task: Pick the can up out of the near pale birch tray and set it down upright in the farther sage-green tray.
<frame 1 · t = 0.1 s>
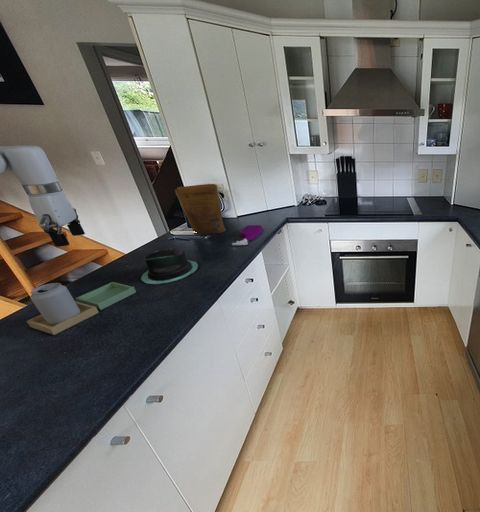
hand: (71, 240, 91), 22 cm above the worktop, tool pointing down, fingers open, 9 cm apart
far tray: (108, 297, 100), on the worktop
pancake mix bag: (210, 233, 157), on the worktop
near tray: (66, 319, 89), on the worktop
can: (65, 319, 88), resting on near tray
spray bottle: (248, 237, 153), on the worktop
black and teal hat: (171, 272, 117), on the worktop
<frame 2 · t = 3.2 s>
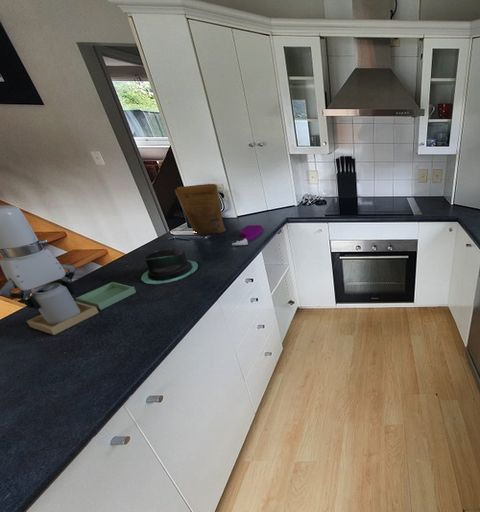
hand: (53, 300, 85), 8 cm above the worktop, tool pointing down, fingers closed on can, 7 cm apart
can: (65, 319, 88), resting on near tray, touching gripper
everything else where it was.
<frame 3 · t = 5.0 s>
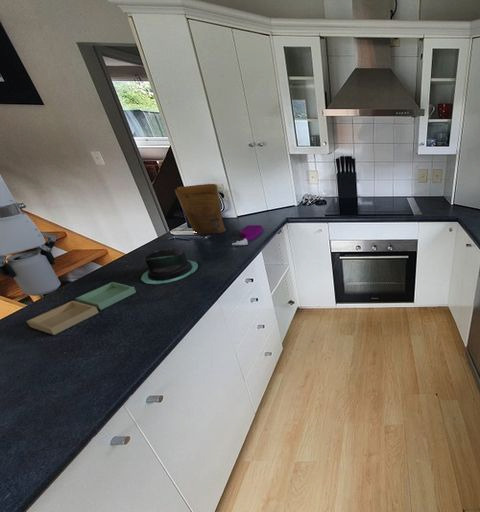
hand: (31, 269, 80), 19 cm above the worktop, tool pointing down, fingers closed on can, 7 cm apart
can: (44, 290, 83), point 11 cm above the worktop, touching gripper
everything else where it was.
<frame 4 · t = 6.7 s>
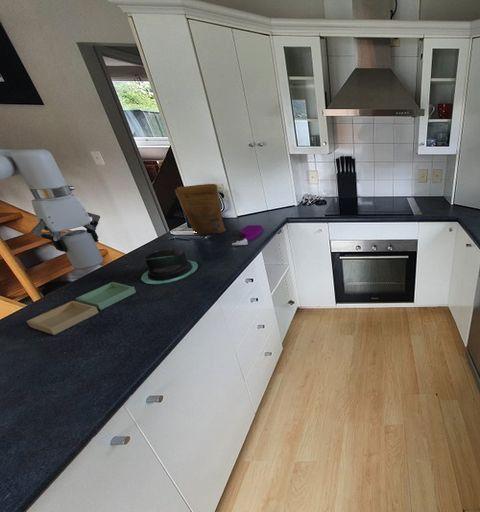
hand: (79, 245, 90), 21 cm above the worktop, tool pointing down, fingers closed on can, 7 cm apart
can: (90, 265, 93), point 14 cm above the worktop, touching gripper
everything else where it was.
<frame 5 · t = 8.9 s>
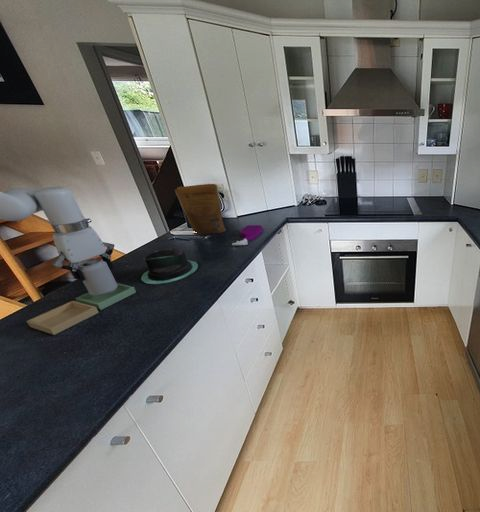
hand: (95, 273, 95), 10 cm above the worktop, tool pointing down, fingers closed on can, 7 cm apart
can: (105, 291, 98), point 3 cm above the worktop, touching gripper
everything else where it was.
when the fingers open (8 cm above the worktop, at t = 10.3 s): can stays where it is, resting on far tray.
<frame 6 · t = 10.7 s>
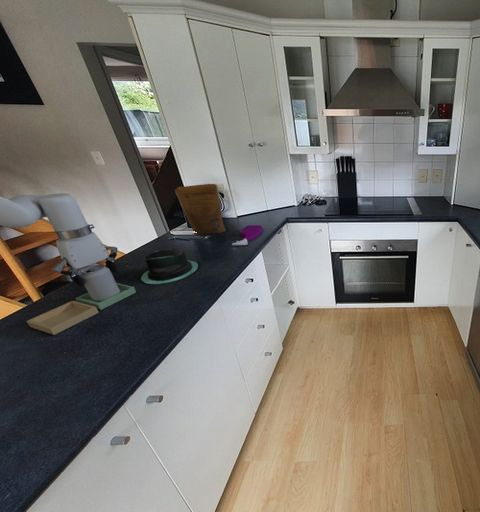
hand: (97, 277, 96), 9 cm above the worktop, tool pointing down, fingers open, 9 cm apart
can: (107, 297, 99), resting on far tray
everything else where it was.
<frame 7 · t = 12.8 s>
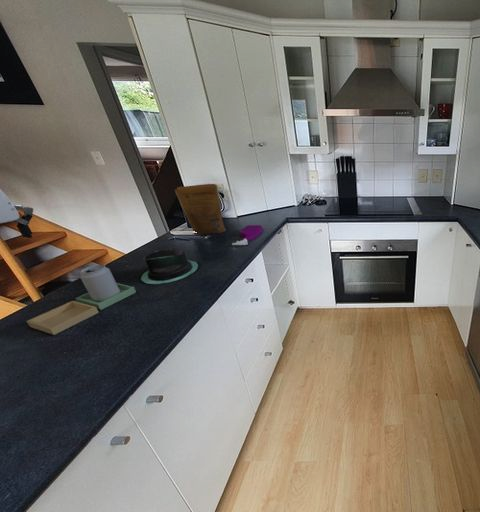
hand: (4, 242, 79), 26 cm above the worktop, tool pointing down, fingers open, 9 cm apart
nothing on the worktop moved.
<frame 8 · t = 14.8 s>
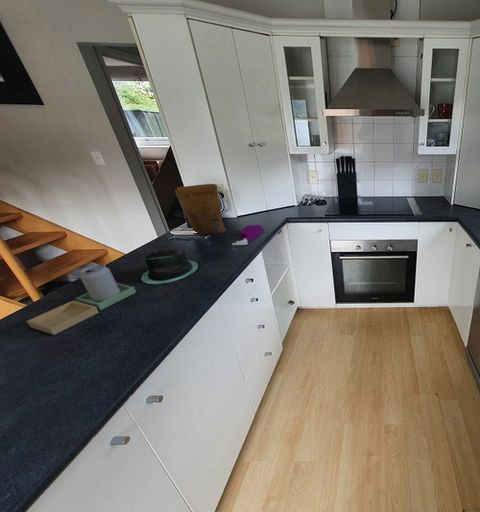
nothing on the worktop moved.
at the end: can 0.1 cm off-centre in the far tray, point 0.2 cm above the far tray's base; can tilted 0°; the gripper is holding nothing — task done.
